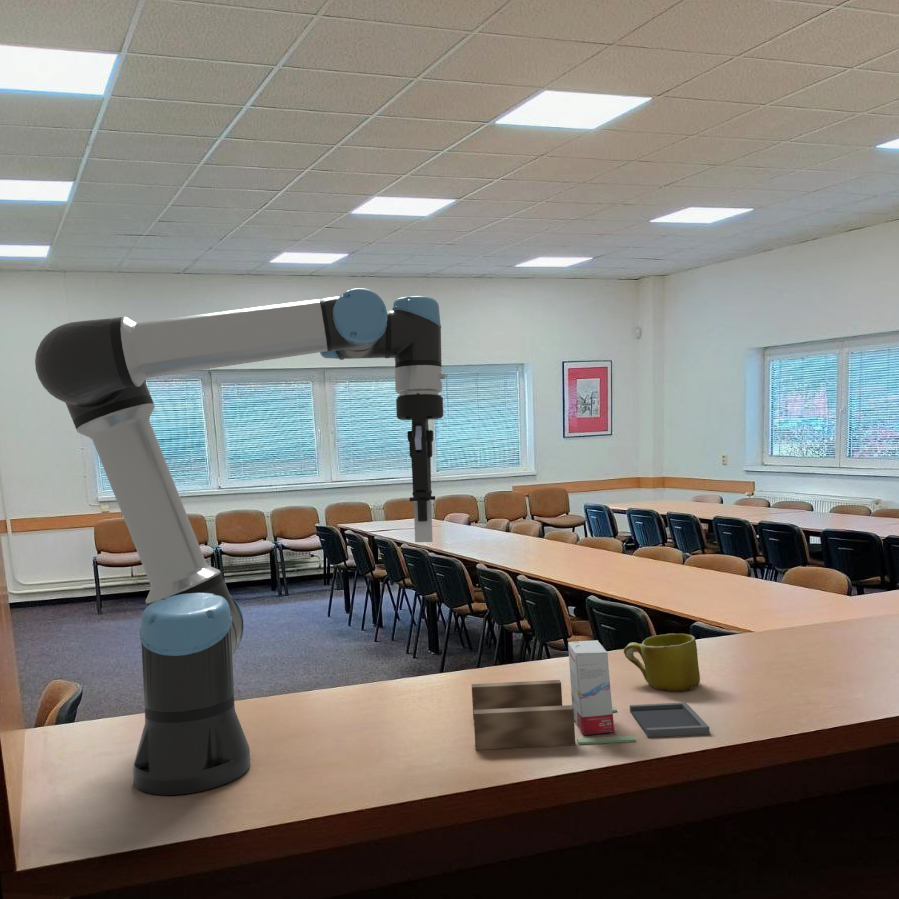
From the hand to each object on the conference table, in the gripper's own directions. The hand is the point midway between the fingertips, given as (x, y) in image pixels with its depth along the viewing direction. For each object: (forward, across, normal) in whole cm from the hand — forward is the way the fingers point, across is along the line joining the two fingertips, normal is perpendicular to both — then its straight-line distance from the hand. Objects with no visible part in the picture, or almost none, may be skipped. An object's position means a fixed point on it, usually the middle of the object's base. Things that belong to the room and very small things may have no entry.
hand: (423, 541), depth 128 cm
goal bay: (+27, -7, -26) cm, 38 cm away
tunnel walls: (+28, -8, -14) cm, 32 cm away
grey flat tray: (+27, -7, -36) cm, 45 cm away
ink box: (+28, -7, -25) cm, 38 cm away
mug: (+27, +12, -40) cm, 50 cm away
